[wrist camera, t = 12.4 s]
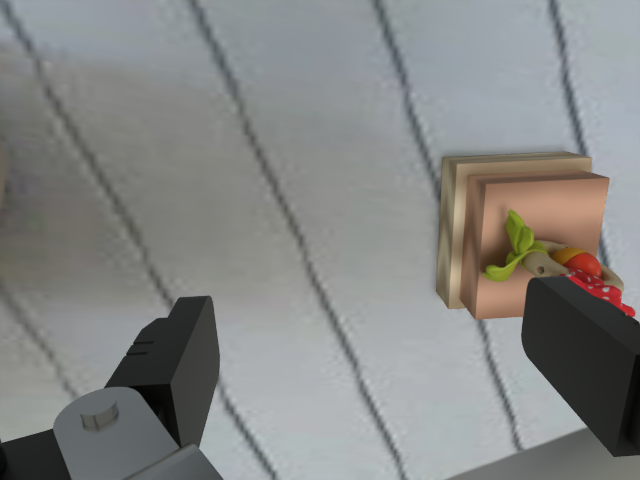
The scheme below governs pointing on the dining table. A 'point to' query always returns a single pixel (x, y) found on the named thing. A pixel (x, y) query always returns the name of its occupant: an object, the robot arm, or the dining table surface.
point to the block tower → (491, 215)
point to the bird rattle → (557, 264)
